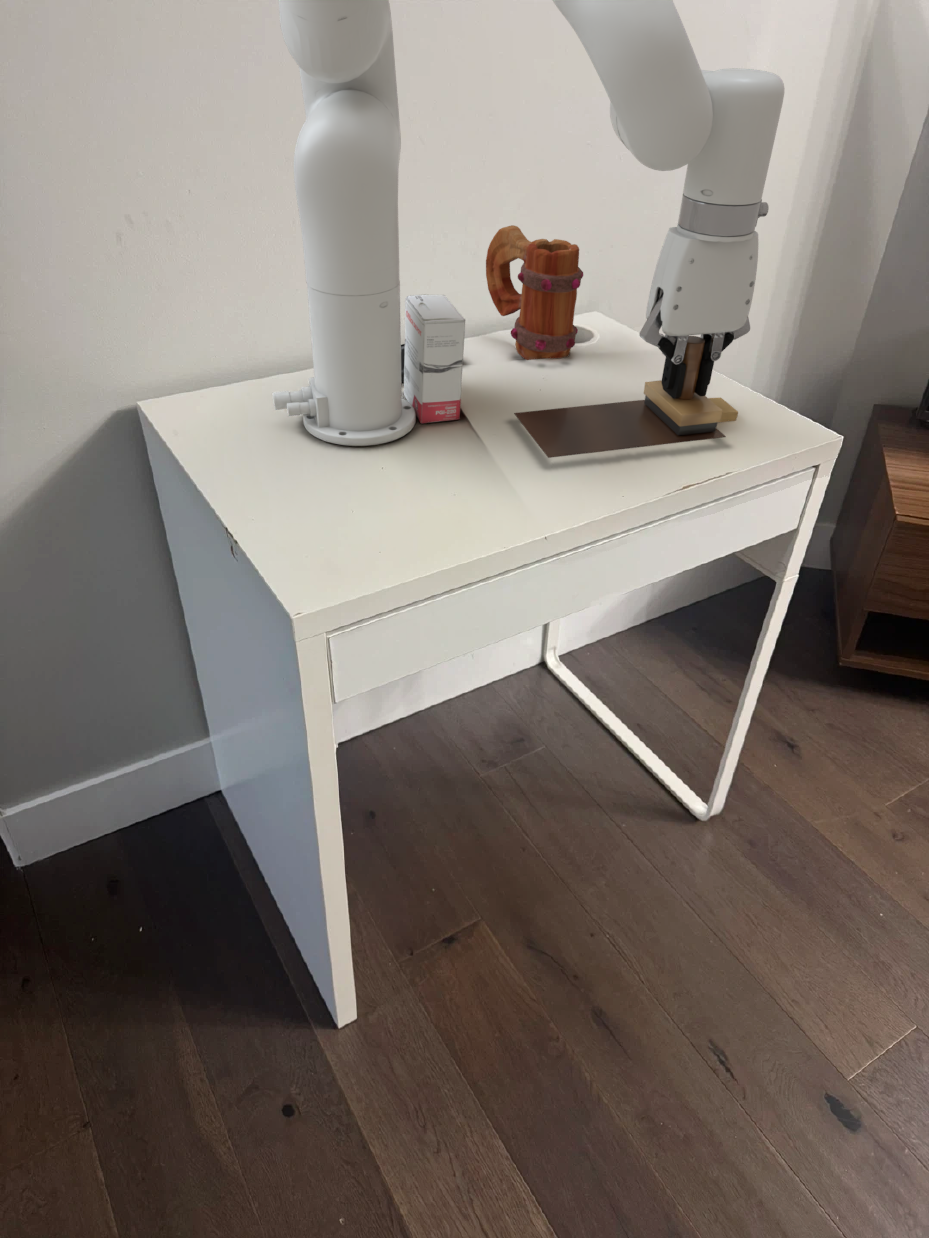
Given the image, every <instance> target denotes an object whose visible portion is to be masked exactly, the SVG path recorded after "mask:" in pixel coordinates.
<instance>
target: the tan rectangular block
mask: <svg viewBox="0 0 929 1238" xmlns="http://www.w3.org/2000/svg"><path fill="white" fill-rule="evenodd" d="M707 398H708V399H709V400H711V401H712V402H713V403H714V404H715V405H717V406H718V407H719V408H720V409H721V410H723V411H722V416H721V420H720V422H719V423H727V422H735V421H737V418H738V415H739V411H738V410H737V409H736V408H734V406H732V405H731V404H729V402H727V401H726V400H725V399H724V398H722V397H707Z"/></svg>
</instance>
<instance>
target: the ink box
mask: <svg viewBox="0 0 929 1238" xmlns="http://www.w3.org/2000/svg"><path fill="white" fill-rule="evenodd" d="M404 301H405V304H404V344H405V359H404V382H403V395H404V397H405V400H407V401H408V402H409V403H410V404H411V405H412V406H413V407H414V409H415V413H416V418H417V420H418V421H419V423H420V424H427V423H428V424H429V423H438V422H448V421H457V420H460V418H461V417H460V416H461V404H462V403H461V399H462V386H463V385H462V383H463V382H462V381H463V366H464V351H465V335H466V318H465V317H464V316H463V315H462V314H461V313H460V312H459V310H458V309H457V308H456V306H454V304H453V303H452V302H451V300H449V298H448V297H447V296H446V295H445V294H427V293H425V294H423V293H422V294H410V295H407V296H406V297H405V300H404Z"/></svg>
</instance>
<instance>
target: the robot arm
mask: <svg viewBox="0 0 929 1238" xmlns="http://www.w3.org/2000/svg"><path fill="white" fill-rule="evenodd" d="M552 2H553V4H554V5H555V7H556V8H557V10H558V11H559V12H560V13H561V15H562V16H563V17H564V18H565V20H566V21H567V22H568V24H569V25H570V26H571V29H573V31H574V32H575V34H576V36H577V37H578V39H579V41H580V42H581V45H582V46H583V48H584V50H585V51H586V53H587V55H588V58H589V59H590V61H591V63H592V65H593V68H594V69H595V71H596V74H597V75H598V77H599V80H600V81H601V84H602V86H603V88H604V91H605V92H606V94H607V97H608V99H609V101H610V103H609V117H610V122H611V126H612V128H613V131H614V133H615V135H616V137H617V138H618V140H619V141H620V142H621V143H622V144H623V146H624V147H625V148H626V149H627V150H628V151H629V152H630V153H631V154H632V156H633V157H634V158H635V159H636V160H637V161H638V162H639V163H640V164H642V165H643V166H644V167H647V168H648V169H651V170H654V171H659V172H669V171H670V172H671V171H674V170H678V169H681V168H683V167H685V166H686V172H685V178H684V184H683V191H682V197H681V202H680V207H679V213H678V220H677V224H676V225H677V226H673V227H669V228H668V231H667V233H666V236H665V239H664V241H663V243H662V246H661V249H660V252H659V255H658V259H657V262H656V265H655V269H654V273H653V277H652V281H651V285H650V289H649V294H648V299H647V306H646V312H645V316H646V317H645V318H646V320H645V323H644V324H643V326H642V328H641V330H640V331H639V337H640V338H641V339H642V340H643V341H645V342H646V343H648V344H650V345H652V346H654V347H657V348H658V349H659V350H660V352H661V354H662V355H663V356H664V357H665V360H664V365H663V371H662V376H661V380H662V386H663V390H664V391H665V392H666V393H668V394H669V395H670V396H671V397H672V398H673V399H679V398H680V397H681V393H682V388H683V383H684V378H685V373H686V364H685V363H683V358H684V354H685V350H686V345H687V341H688V337H689V336H698V335H700V337H701V338H703V339H704V340H705V344H704V349H703V354H702V359H701V364H700V369H699V374H698V379H697V384H696V389H695V393H696V394H697V395H699V396H706V395H707V392H708V388H709V385H710V383H711V379H712V374H713V371H714V370H713V369H714V365H715V362H717V361H719V360H720V358H721V356H722V352H724V350H726V348H728V347H729V346H730V345H731V344H732V343H733V341H736V340H737V339H740V338H741V337H743V336H745V335H747V334H749V332H750V330H751V324H750V318H749V314H750V312H751V307H752V303H753V302H752V301H753V297H754V292H755V286H756V279H757V271H758V261H759V233H758V232H757V231H756V230H755V229H756V227H757V224H758V219H759V218H764V217H766V216H768V213H769V203H768V202H766V201H763V194H764V190H765V184H766V180H767V175H768V171H769V166H770V162H771V157H772V154H773V149H774V144H775V140H776V136H777V135H776V134H777V131H778V126H779V121H780V117H781V113H782V107H783V103H784V98H785V83H784V80H783V79H782V78H781V76H779V74H776V73H774V72H770V71H767V70H761V69H751V68H735V67H734V68H722V69H720V68H719V69H716V70H706V69H701V67H700V64H699V61H698V58H697V56H696V53H695V51H694V49H693V46H692V43H691V40H690V38H689V36H688V33H687V30H686V28H685V26H684V23H683V21H682V19H681V17H680V14H679V11H678V9H677V6H676V5H675V3H674V0H552ZM277 3H278V15H279V26H280V30H281V34H282V38H283V42H284V44H285V46H286V48H287V51H288V53H289V55H290V56H291V58H292V59H293V60H294V62H295V63H296V65H297V66H298V72H299V79H300V86H301V93H302V101H303V107H304V113H305V121H304V123H303V124H302V126H301V128H300V131H298V136H297V139H296V142H295V148H294V152H293V181H294V190H295V198H296V204H297V209H298V210H297V211H298V216H299V223H300V231H301V240H302V241H301V242H302V249H303V250H302V251H303V262H304V263H303V264H304V273H305V274H304V275H305V283H306V291H307V306H308V317H309V330H310V331H309V332H310V340H311V355H312V367H313V368H312V369H313V377H308V385H307V386H301V387H300V390H293V391H289V390H282V391H281V390H279V391H272V393H271V395H272V404H273V409H274V411H277V410H278V411H279V410H286V411H287V417H295V416H300V415H302V420H303V421H302V422H303V426H304V428H305V430H306V431H307V432H308V433H309V434H311V435H312V436H314V437H315V438H317V439H319V440H322V441H323V442H326V443H331V444H333V445H340V446H350V447H367V446H368V447H369V446H376V445H381V444H386V443H389V442H393V441H396V440H398V439H400V438H402V437H404V436H405V435H407V434H408V433H410V432H411V431H412V429H414V427H415V425H416V418H417V416H416V413H415V409H414V407H413V406H412V405H411V404H410V403H409V402H408V401H407V399H406V398H403V397H402V396H403V395H402V394H403V393H402V391H403V390H402V389H403V388H402V382H401V345H402V334H401V333H402V332H401V330H402V329H401V326H402V325H401V324H402V323H401V322H402V321H401V280H400V279H401V278H400V237H399V235H400V231H399V230H400V229H399V167H400V159H401V147H402V134H401V123H400V110H399V98H398V85H397V83H398V82H397V74H396V72H397V71H396V58H395V45H394V34H393V31H394V30H393V21H392V13H391V5H390V0H277ZM660 330H661V331H662V333H660Z"/></svg>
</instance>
